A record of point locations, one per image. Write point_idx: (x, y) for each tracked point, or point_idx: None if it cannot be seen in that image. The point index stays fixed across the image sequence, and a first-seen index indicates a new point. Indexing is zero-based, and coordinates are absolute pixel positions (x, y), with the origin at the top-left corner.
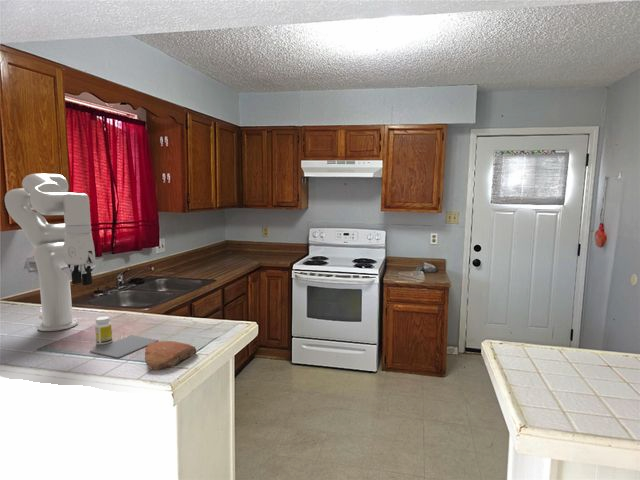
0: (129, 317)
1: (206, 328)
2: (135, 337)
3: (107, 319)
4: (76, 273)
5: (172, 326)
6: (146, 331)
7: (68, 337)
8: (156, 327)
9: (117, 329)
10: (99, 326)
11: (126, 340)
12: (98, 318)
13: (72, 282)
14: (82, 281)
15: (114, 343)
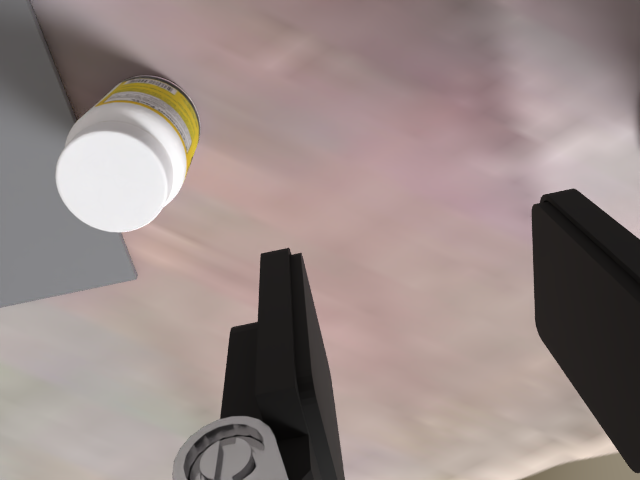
0: (495, 418)
1: None
2: (70, 272)
3: (65, 198)
4: (634, 374)
5: (130, 470)
6: (158, 361)
7: (468, 20)
8: (184, 420)
9: (341, 286)
10: (82, 118)
11: (52, 215)
12: (127, 156)
13: (570, 198)
14: (276, 281)
15: (49, 143)
